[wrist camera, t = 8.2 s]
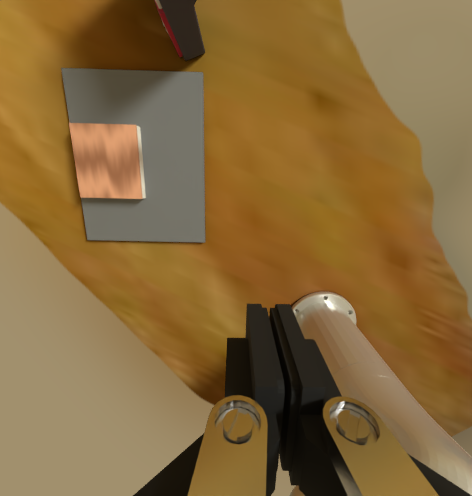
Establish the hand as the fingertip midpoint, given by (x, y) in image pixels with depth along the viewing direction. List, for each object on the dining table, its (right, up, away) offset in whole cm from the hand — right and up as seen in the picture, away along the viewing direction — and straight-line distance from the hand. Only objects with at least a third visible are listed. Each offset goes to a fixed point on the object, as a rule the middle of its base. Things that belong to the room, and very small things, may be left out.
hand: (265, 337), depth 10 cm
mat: (-15, +16, +28) cm, 36 cm away
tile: (-15, +16, +27) cm, 34 cm away
